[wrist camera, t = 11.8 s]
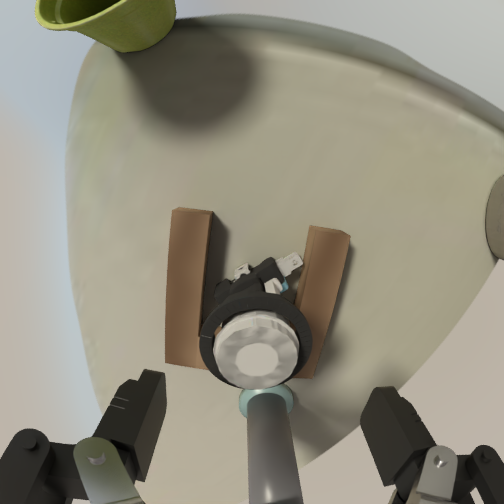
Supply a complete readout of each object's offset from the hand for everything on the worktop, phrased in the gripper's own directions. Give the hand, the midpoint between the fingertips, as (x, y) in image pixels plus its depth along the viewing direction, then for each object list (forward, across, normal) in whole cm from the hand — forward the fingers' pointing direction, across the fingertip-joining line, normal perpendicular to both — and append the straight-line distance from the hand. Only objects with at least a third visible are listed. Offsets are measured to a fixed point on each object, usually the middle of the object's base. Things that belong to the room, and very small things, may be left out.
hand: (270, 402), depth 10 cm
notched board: (+12, +1, +1) cm, 13 cm away
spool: (+13, -2, +12) cm, 17 cm away
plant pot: (+12, +12, -20) cm, 27 cm away
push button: (+13, 0, -1) cm, 13 cm away
